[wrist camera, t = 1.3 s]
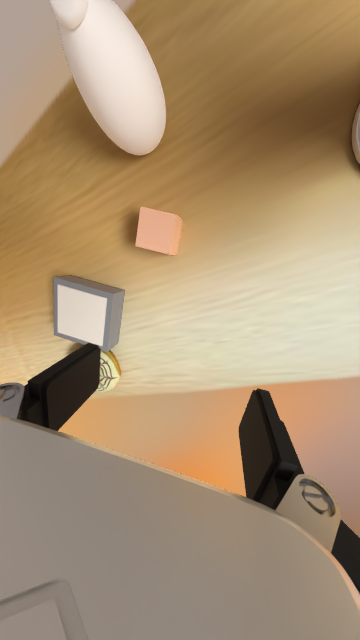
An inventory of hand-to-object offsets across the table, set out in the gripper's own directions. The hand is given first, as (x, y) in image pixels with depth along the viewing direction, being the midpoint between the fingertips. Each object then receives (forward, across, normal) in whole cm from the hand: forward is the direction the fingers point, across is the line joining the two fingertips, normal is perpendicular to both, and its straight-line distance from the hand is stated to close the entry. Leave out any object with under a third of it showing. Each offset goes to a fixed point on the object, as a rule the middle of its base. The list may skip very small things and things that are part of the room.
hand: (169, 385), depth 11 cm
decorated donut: (+23, +18, +18) cm, 34 cm away
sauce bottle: (+22, +12, -22) cm, 34 cm away
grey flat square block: (+22, +20, +6) cm, 30 cm away
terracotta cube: (+22, +8, -10) cm, 26 cm away
